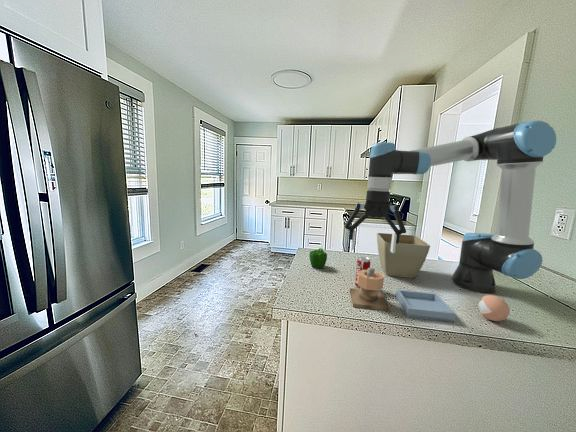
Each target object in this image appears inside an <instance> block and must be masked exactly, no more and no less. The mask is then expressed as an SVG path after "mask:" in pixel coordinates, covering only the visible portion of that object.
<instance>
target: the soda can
mask: <svg viewBox="0 0 576 432" xmlns="http://www.w3.org/2000/svg"><path fill="white" fill-rule="evenodd" d="M357 258H358V259H357V260H356V271H355V281H354V285H355V287H356V288H357V289H360V286H358V283H357V276H358V271H361V270H367V269H368V268H371V261H370V260H371V259H370V258H368V257H366V256H359V257H357Z"/></svg>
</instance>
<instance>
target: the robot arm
mask: <svg viewBox="0 0 576 432" xmlns="http://www.w3.org/2000/svg"><path fill="white" fill-rule="evenodd" d="M556 144H557V134H556V131H555V130H554V127H553V126H551V125H550V124H549V123H548V122H546V121H544V120H543V121H542V120H530V121H523V122H519V123H514V124H510V125H506V126H502V127H495V128H493V129H489V130H487V131H484V132H481V133H477V134H474V135H471V136H469V135H468V136H466V137H464V138H462V140H459V141H458V140H457V141H454V142H447V143H443V144H438V145H432V146H428V147H427V146H426V147H423V148H422V147H421V148H418V149H413V150H398V149H396V144H395V143H394V142H382V141H381V142H376V143H374V144H372V146H371V148H370V154H369V155H370V156H369V166H368V178H367V185H366V186H367V189H368V190H367V191H366V195H365V203H364V204H363V203H359V202H356V203H355V207H354V209H353V211H352V213H351V214H350V216H349V218H348V219H347V222H346V223H345V224H344V228H345V230H348V231H349V233H348V239H349V240H350V241H351V245H350V249H351V250H354V251H355V244H356V234H357V231H356V229H357V228H358V227H359V226H360V225H361V224H362V223H363V222H364V221H365V220H366V219H368V218H369V217H371V218H379V219H380V218H383V219H384V220H385V221H386V222H387V223H388V225H389V226H390V227H391V229H392V231H394V232H392V233H391V234H392V241H391V249H390V251H391V252H392V253H395V246H396V243H397V244H398V243H399V237H400V235H403V234H406V233H407V229H406V227H405V224H404V222H403V219H402V217H401V215H400V211H399V210H400V206H398V205H396V204H393V205H390V196H391V192H390V190H391V187H392V178H393V175H425V174H426V173H427V172H428V171H429V169H430V167H435V166H440V165H445V164H449V163H455V162H456V163H457V162H460V161H465V162H472V161H473V162H474V161H490V160H492V161H496V166H497V167H499V168H500V169H501V177H500V179H501V180H500V190H499V201H498V202H499V203H498V215H497V224H496V225H497V226H496V233H495V234H494V233H484V232H467V233H465V234H464V235H463V238H462V241H461V248H460V249H461V250H460V255H459V263H458V265H457V267H456V269H455V271H454V272H453V274H452V276H451V281H452V283H453V284H455V286H456V285H457V286H458V287H461V288H463V289H465V290H469V291H473V292H479V293H495V292H496V286H497V285H496V281H495V277H494V272H493V271H496V272H498V273H500V274H503V275H504V276H506V277H511V278H513V279H516V280H524V279H527V278H531V277H533V276H534V274H536V273H537V272H538V271H539V270H540V268H541V266H542V264H543V255H542V254H541V252H540V251H539V250H537V249H534V248H535V247H534V246H535V241H534V240H533V239H532V238H531V237H530V236H529V235H530V227H531V218H532V217H531V216H532V208H533V198H534V189H535V187H534V186H535V178H536V177H535V176H536V169H537V167H538V166H540V165H541V164H543V162H544V157H545V156H547V155H549V154H550V153H551V152H552V151H553V150H554V149H555V147H556ZM363 208H364V210H365V211H364V212H363V213H362V215H361V216H360V217H358V219H357V220H356V221H355V222H354V220H355V218H356V217H357V215H358V214H359V212H360V211H361V210H362V209H363ZM389 211H390V212H392V213H393V215H394V217H395V220H396V223H397V225H398V227H397V225H396V224H395V223H394V222H393V220H392V219H391V218H390V216H389V215H388V212H389ZM352 223H353V224H352Z"/></svg>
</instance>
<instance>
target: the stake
mask: <svg viewBox="0 0 576 432" xmlns="http://www.w3.org/2000/svg"><path fill="white" fill-rule="evenodd" d="M374 271H375V268H372V267H370V268H368V269H367V276H369V277H374ZM349 294H350V299H351V304H352V307H353V308H361V309H369V310H377V311H387V312H390V306H389V304H388V301H387V299H386V297H385V295H384V293H383V291H381V290H380V291H379V290H377V291H376V290H366V289H364V288H362V287H360V288H351V287H350V288H349Z"/></svg>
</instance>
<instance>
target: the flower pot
mask: <svg viewBox="0 0 576 432" xmlns="http://www.w3.org/2000/svg"><path fill="white" fill-rule="evenodd" d="M391 241H392V233H386V232H385V233H383V232H377V233H376V243H377V252H378V257H379V263H380V266H381V268H382V270H383V272H384V273H385V274H386V276H390V277H398V278H399V277H401V278H407V279H409V278H411V279H415V278H417V276H418V274H419V273H420V271H421V269H422V267H423V265H424V263H425V261H426V259H427V256H428V254H429V251H430V248H431V245H430V244H429V243H427V242H426V241H425V240H423V239H422V238H420V237H419V236H417V235H415V234H414V235H411V234H401V235H400V237H399V243H398V244H397V243H396V246H395V253H392V252H391V251H390V249H391Z"/></svg>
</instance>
